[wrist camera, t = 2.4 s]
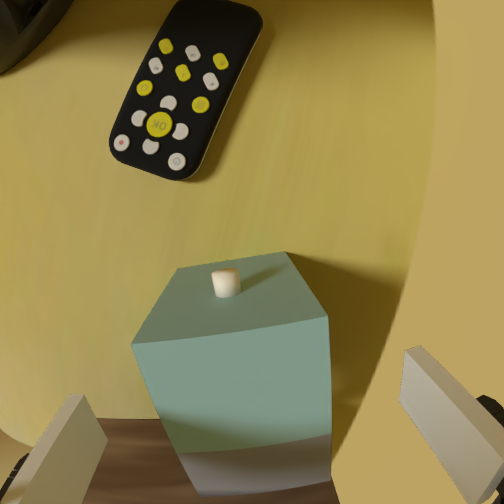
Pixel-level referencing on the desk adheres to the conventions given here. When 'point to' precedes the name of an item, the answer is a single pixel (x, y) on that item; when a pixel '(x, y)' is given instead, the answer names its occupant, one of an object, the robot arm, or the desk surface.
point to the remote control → (184, 87)
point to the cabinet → (241, 375)
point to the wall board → (168, 472)
